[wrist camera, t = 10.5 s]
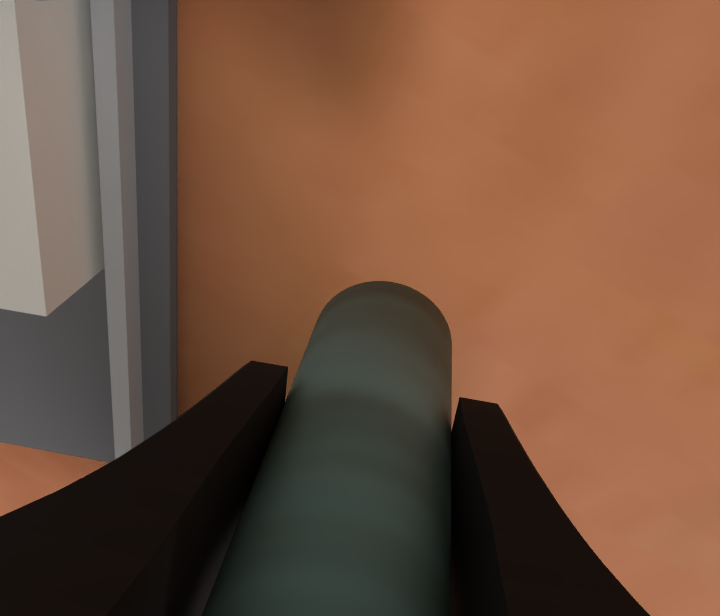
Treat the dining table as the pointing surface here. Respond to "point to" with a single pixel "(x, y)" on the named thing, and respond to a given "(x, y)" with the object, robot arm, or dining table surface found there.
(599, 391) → the dining table surface
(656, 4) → the dining table surface
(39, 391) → the base
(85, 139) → the sliding block
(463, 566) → the robot arm
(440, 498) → the dowel
